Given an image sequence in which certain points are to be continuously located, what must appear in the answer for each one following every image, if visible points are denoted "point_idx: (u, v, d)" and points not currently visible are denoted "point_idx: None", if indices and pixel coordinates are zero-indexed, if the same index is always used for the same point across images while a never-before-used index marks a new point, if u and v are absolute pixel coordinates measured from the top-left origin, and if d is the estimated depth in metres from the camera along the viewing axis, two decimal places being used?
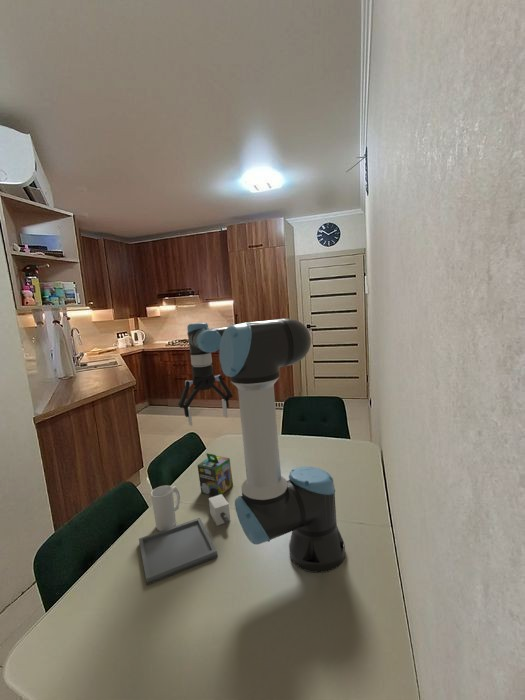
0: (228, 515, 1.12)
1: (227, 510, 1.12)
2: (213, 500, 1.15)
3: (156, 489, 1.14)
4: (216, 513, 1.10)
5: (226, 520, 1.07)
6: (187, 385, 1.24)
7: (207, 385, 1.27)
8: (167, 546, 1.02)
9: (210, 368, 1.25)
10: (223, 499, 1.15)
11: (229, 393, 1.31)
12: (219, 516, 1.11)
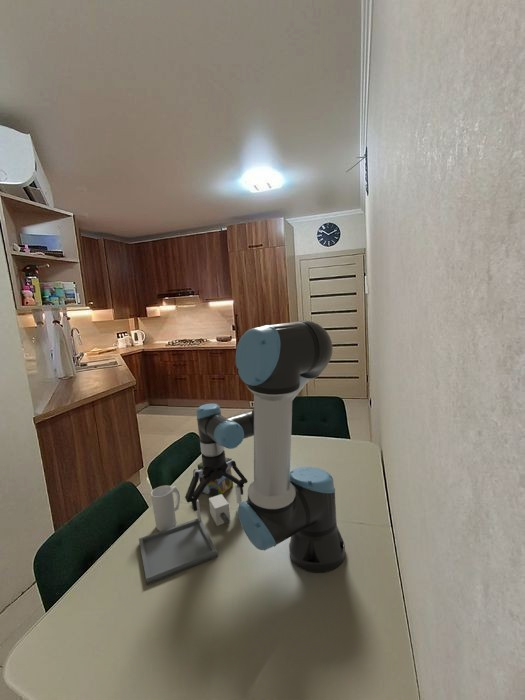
0: (228, 515, 1.12)
1: (227, 510, 1.12)
2: (213, 500, 1.15)
3: (156, 489, 1.14)
4: (216, 513, 1.10)
5: (226, 520, 1.07)
6: (196, 477, 1.09)
7: (219, 474, 1.12)
8: (167, 546, 1.02)
9: (222, 456, 1.10)
10: (223, 499, 1.15)
11: (244, 479, 1.17)
12: (219, 516, 1.11)
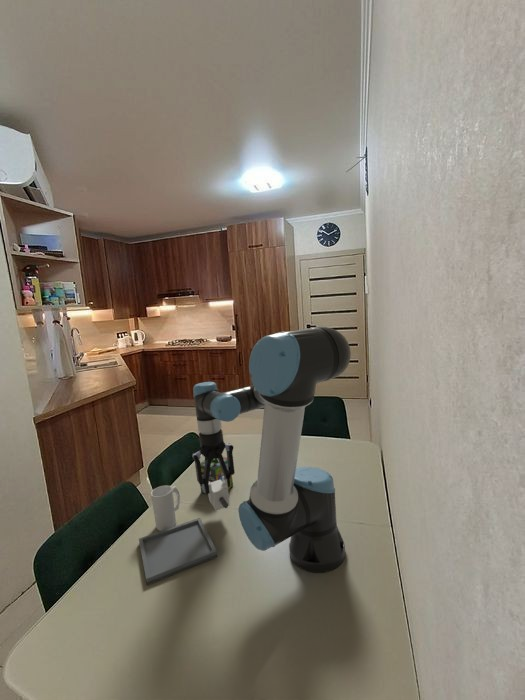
0: (227, 500, 1.11)
1: (226, 495, 1.11)
2: (211, 485, 1.14)
3: (156, 489, 1.14)
4: (215, 497, 1.09)
5: (225, 504, 1.06)
6: (196, 459, 1.08)
7: (216, 453, 1.11)
8: (167, 546, 1.02)
9: (220, 435, 1.09)
10: (222, 484, 1.14)
11: (232, 469, 1.14)
12: (218, 500, 1.10)
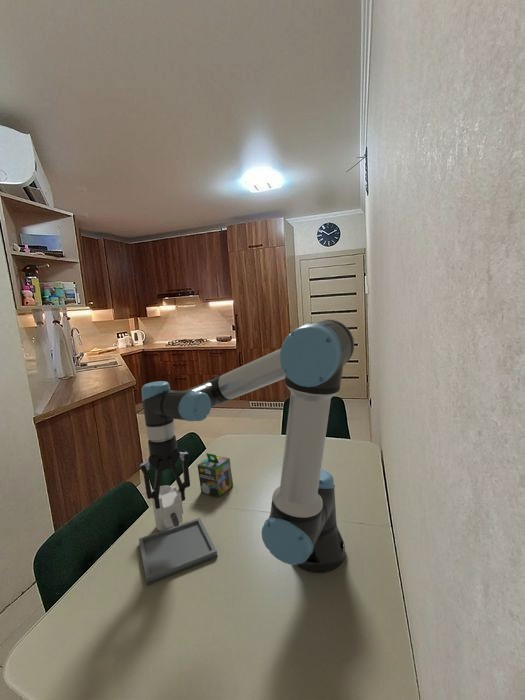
0: (180, 516, 0.97)
1: (179, 510, 0.97)
2: (164, 498, 1.00)
3: None
4: (165, 513, 0.96)
5: (175, 522, 0.93)
6: (144, 470, 0.94)
7: (169, 463, 0.97)
8: (167, 546, 1.02)
9: (172, 443, 0.95)
10: (175, 497, 1.00)
11: (187, 481, 0.99)
12: (169, 517, 0.96)
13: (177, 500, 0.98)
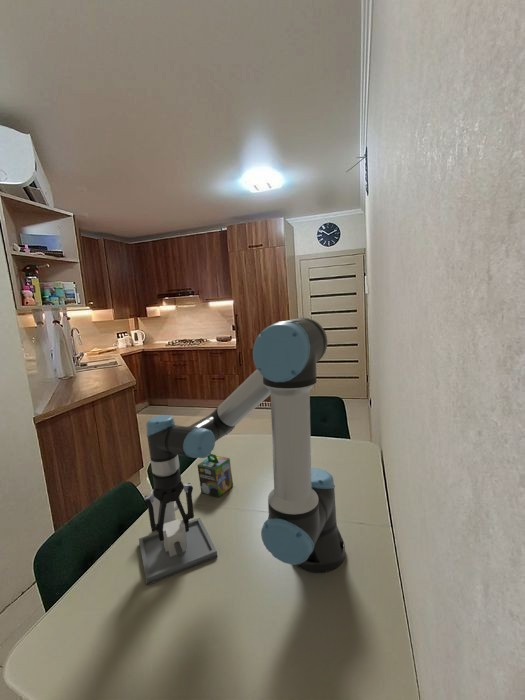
0: (183, 544, 0.99)
1: (182, 539, 0.98)
2: (167, 526, 1.01)
3: None
4: (169, 542, 0.97)
5: (179, 551, 0.94)
6: (148, 504, 0.95)
7: (173, 496, 0.98)
8: None
9: (176, 476, 0.96)
10: (179, 525, 1.01)
11: (191, 512, 1.01)
12: (172, 546, 0.97)
13: (180, 529, 1.00)
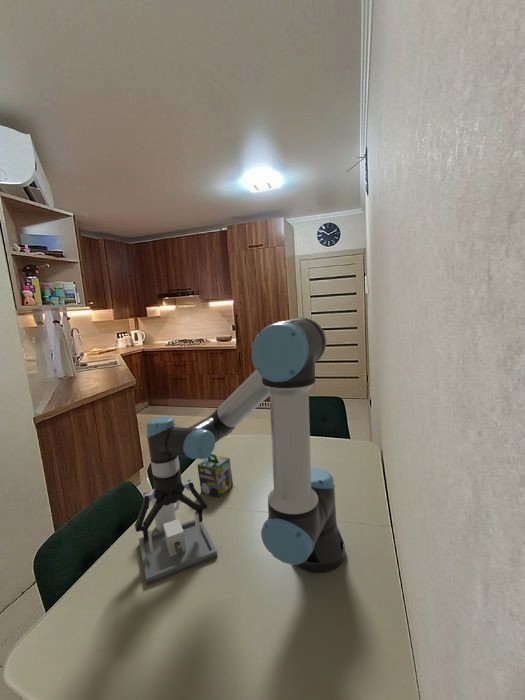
0: (183, 544, 0.99)
1: (182, 539, 0.98)
2: (167, 526, 1.01)
3: None
4: (169, 542, 0.97)
5: (179, 551, 0.94)
6: (146, 502, 0.95)
7: (173, 498, 0.98)
8: None
9: (176, 478, 0.96)
10: (179, 525, 1.01)
11: (203, 504, 1.02)
12: (172, 546, 0.97)
13: (180, 529, 1.00)
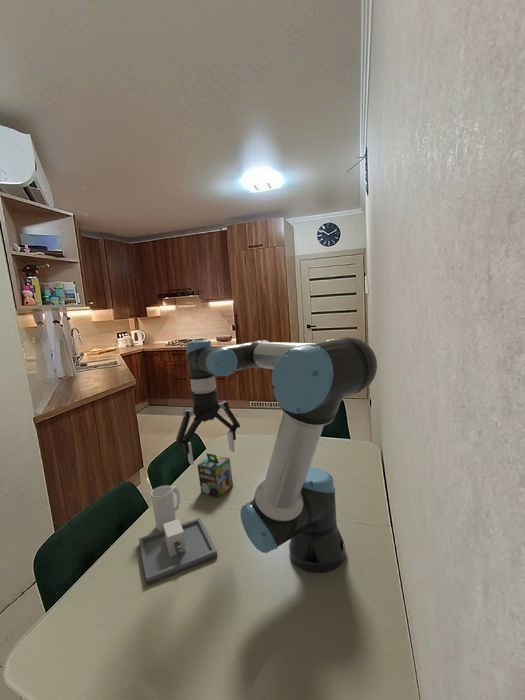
0: (183, 544, 0.99)
1: (182, 539, 0.98)
2: (167, 526, 1.01)
3: (156, 489, 1.14)
4: (169, 542, 0.97)
5: (179, 551, 0.94)
6: (187, 416, 1.03)
7: (210, 415, 1.06)
8: None
9: (214, 394, 1.04)
10: (179, 525, 1.01)
11: (236, 423, 1.11)
12: (172, 546, 0.97)
13: (180, 529, 1.00)
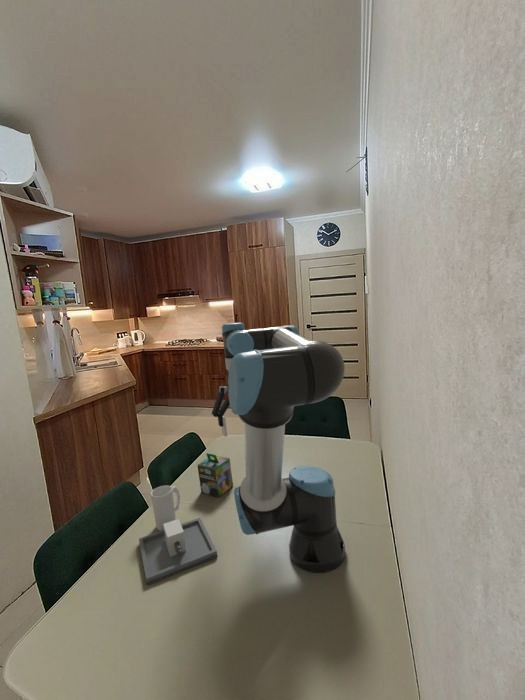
0: (183, 544, 0.99)
1: (182, 539, 0.98)
2: (167, 526, 1.01)
3: (156, 489, 1.14)
4: (169, 542, 0.97)
5: (179, 551, 0.94)
6: (222, 392, 1.12)
7: None
8: None
9: None
10: (179, 525, 1.01)
11: None
12: (172, 546, 0.97)
13: (180, 529, 1.00)
